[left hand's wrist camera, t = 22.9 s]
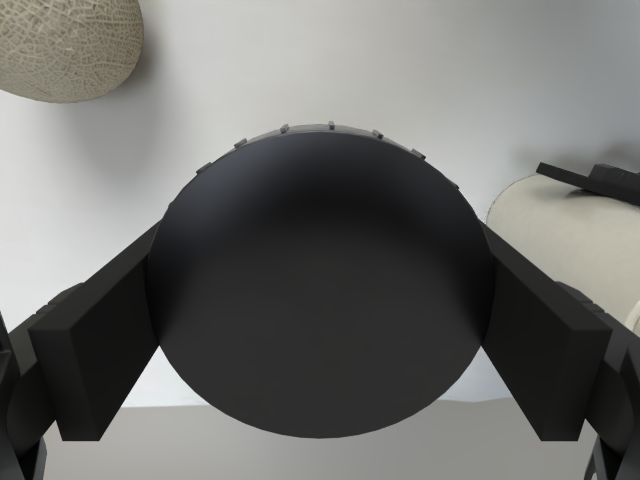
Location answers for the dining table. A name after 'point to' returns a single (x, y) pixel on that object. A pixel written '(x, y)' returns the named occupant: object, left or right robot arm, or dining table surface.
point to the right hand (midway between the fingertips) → (517, 230)
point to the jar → (576, 240)
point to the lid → (320, 282)
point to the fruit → (68, 47)
